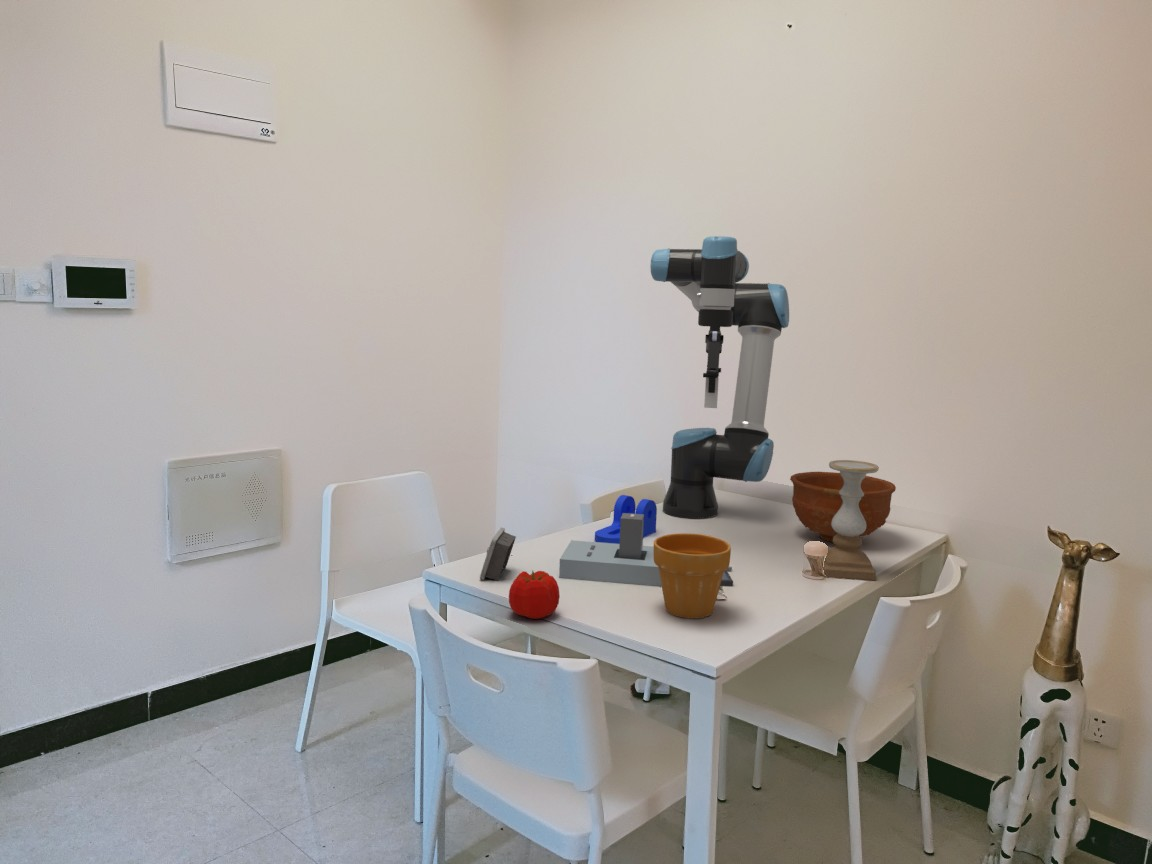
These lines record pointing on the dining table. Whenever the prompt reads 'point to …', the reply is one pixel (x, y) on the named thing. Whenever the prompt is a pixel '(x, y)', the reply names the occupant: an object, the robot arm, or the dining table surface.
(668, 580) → the flower pot
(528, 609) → the tomato
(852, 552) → the candle holder
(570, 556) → the plate
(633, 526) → the plug
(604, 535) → the bracket
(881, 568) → the dining table surface
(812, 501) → the bowl
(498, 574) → the electrical switch
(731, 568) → the usb cable
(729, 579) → the phone
